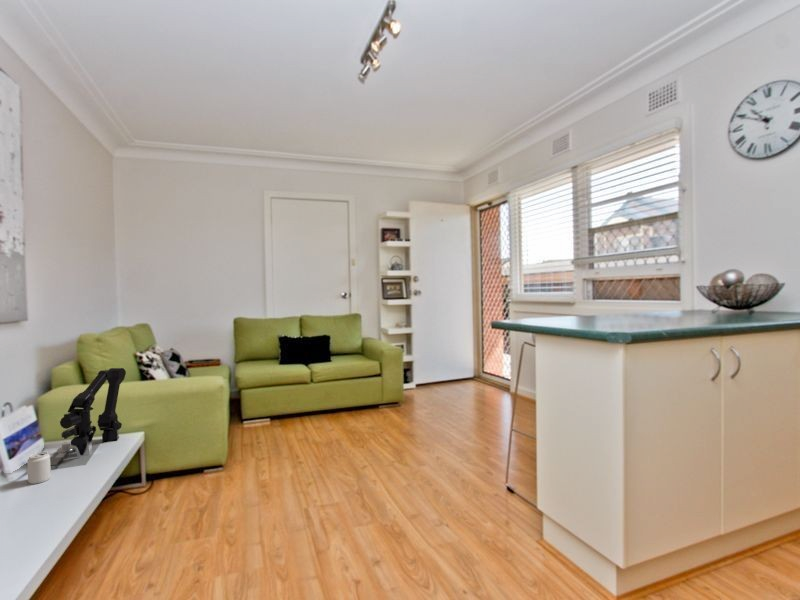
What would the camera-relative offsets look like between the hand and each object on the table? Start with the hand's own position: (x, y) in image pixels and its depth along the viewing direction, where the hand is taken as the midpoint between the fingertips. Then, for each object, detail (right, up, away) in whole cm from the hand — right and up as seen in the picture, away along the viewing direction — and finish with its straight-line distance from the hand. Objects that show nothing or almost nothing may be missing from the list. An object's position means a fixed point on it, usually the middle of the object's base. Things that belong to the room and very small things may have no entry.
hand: (84, 451), depth 206 cm
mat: (-4, -2, -3) cm, 5 cm away
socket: (0, -1, 0) cm, 1 cm away
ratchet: (-7, -1, -6) cm, 9 cm away
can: (+1, -3, -27) cm, 27 cm away
